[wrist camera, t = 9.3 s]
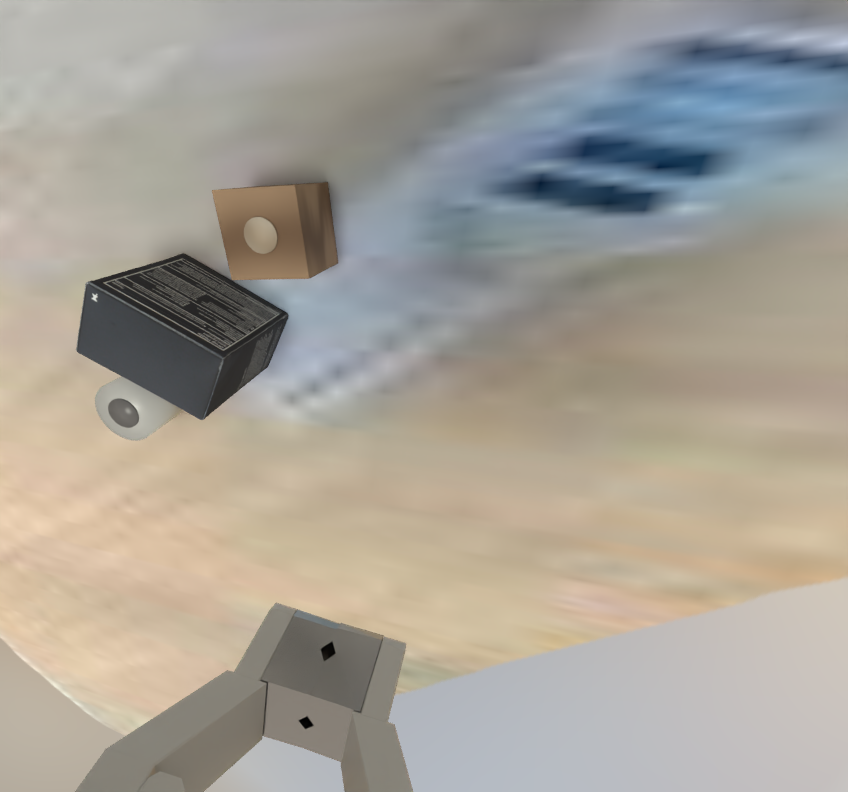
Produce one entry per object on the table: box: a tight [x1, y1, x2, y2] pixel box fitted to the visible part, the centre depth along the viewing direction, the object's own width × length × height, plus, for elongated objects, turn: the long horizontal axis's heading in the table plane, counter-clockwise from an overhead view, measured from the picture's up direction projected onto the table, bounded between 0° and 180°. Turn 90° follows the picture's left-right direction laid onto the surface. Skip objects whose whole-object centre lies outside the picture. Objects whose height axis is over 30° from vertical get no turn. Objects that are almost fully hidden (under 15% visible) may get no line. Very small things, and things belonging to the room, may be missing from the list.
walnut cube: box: [212, 182, 338, 280], centre depth 36 cm, size 6×6×6 cm
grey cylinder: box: [95, 376, 184, 440], centre depth 45 cm, size 6×6×6 cm
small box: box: [76, 254, 288, 420], centre depth 38 cm, size 11×6×10 cm, turn 62°
